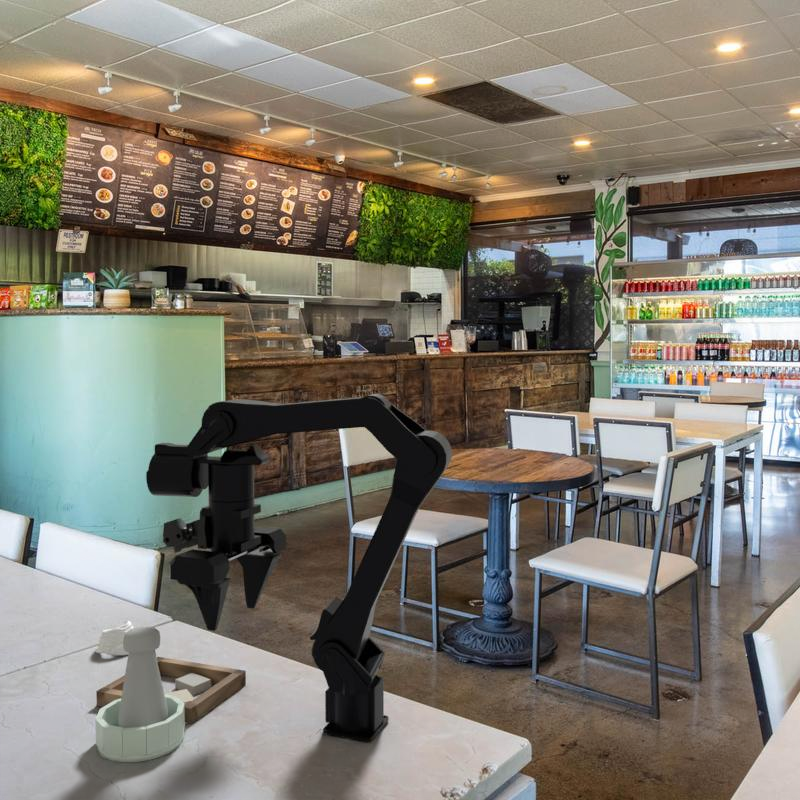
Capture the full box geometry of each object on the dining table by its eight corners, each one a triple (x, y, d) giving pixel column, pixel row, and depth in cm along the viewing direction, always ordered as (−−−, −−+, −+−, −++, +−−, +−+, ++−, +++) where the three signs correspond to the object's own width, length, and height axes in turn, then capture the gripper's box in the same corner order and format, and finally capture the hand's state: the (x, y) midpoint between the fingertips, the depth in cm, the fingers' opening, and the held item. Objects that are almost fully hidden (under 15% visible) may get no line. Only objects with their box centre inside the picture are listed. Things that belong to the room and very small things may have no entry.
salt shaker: (167, 743, 95) (165, 635, 95) (116, 748, 94) (114, 640, 93) (169, 721, 101) (167, 619, 100) (121, 726, 100) (119, 623, 99)
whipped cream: (111, 668, 123) (111, 639, 122) (83, 656, 126) (82, 626, 125) (153, 648, 129) (152, 620, 128) (125, 637, 133) (124, 609, 132)
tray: (245, 684, 114) (245, 670, 114) (191, 724, 102) (191, 708, 102) (158, 669, 119) (157, 656, 119) (96, 705, 107) (96, 691, 107)
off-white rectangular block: (210, 690, 113) (210, 679, 113) (193, 697, 111) (193, 686, 111) (192, 683, 115) (192, 672, 115) (175, 690, 113) (175, 679, 113)
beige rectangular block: (195, 711, 106) (195, 699, 106) (172, 716, 105) (172, 704, 105) (186, 700, 110) (186, 688, 110) (164, 705, 108) (164, 693, 108)
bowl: (200, 730, 100) (199, 700, 100) (148, 768, 91) (148, 736, 91) (134, 717, 104) (134, 688, 104) (78, 753, 95) (78, 722, 94)
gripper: (218, 483, 114) (219, 591, 115) (131, 506, 96) (132, 634, 97) (288, 488, 110) (288, 600, 111) (210, 513, 92) (211, 646, 93)
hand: (232, 618), depth 103 cm, fingers open, 9 cm apart
